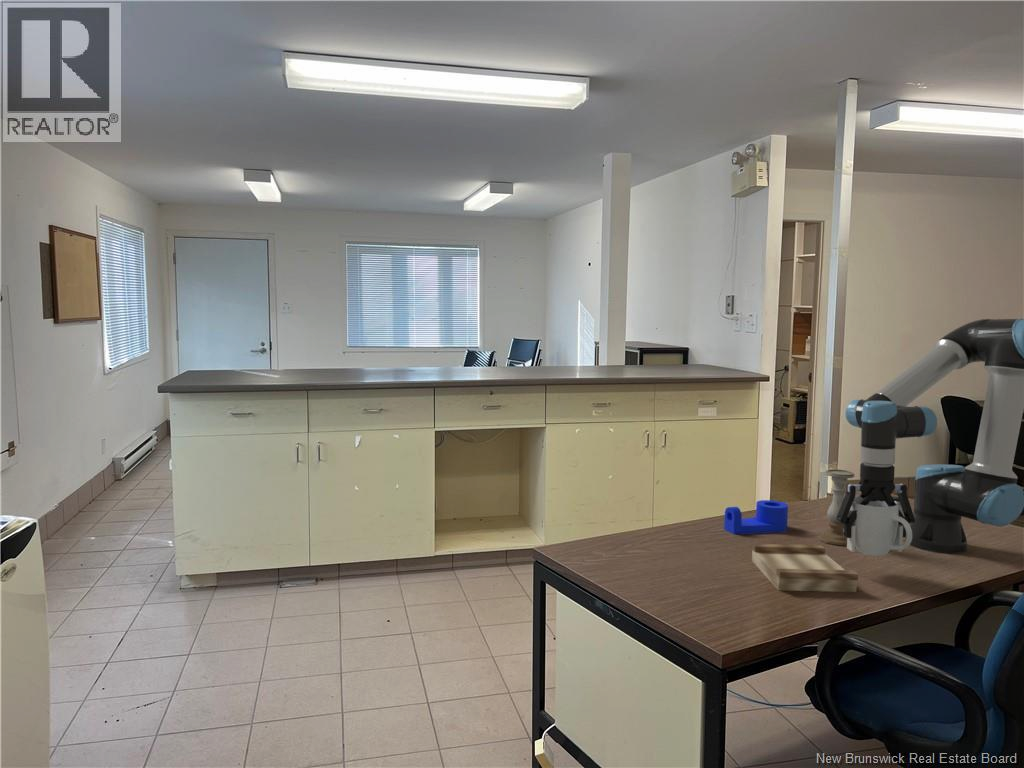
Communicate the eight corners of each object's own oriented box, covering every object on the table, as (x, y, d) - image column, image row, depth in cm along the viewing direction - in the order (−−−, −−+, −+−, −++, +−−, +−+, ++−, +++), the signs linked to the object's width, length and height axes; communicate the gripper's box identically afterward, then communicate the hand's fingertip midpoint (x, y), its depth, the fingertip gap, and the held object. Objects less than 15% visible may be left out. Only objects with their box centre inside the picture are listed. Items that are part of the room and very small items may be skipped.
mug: (922, 557, 170) (924, 505, 168) (898, 567, 163) (900, 513, 162) (863, 541, 182) (864, 492, 181) (839, 550, 176) (840, 500, 174)
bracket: (773, 523, 218) (774, 499, 217) (793, 531, 209) (794, 506, 209) (719, 528, 212) (720, 503, 211) (737, 536, 203) (738, 511, 203)
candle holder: (855, 547, 194) (859, 476, 192) (820, 543, 197) (824, 473, 195) (850, 538, 203) (854, 470, 201) (818, 534, 205) (821, 467, 204)
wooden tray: (820, 561, 182) (821, 545, 182) (857, 592, 162) (858, 574, 161) (751, 560, 183) (752, 543, 182) (779, 590, 162) (779, 572, 162)
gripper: (917, 459, 174) (913, 544, 177) (823, 460, 175) (820, 545, 177) (934, 466, 167) (930, 554, 169) (836, 467, 168) (833, 555, 170)
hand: (874, 549), depth 173 cm, fingers closed on mug, 11 cm apart
